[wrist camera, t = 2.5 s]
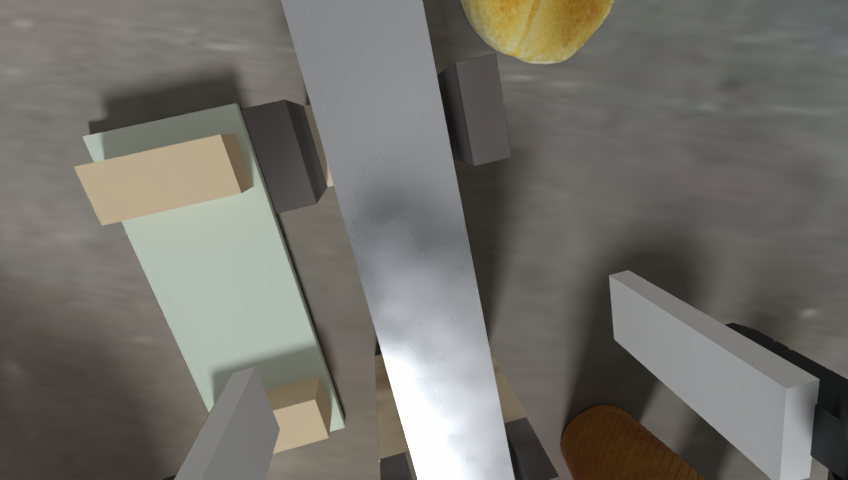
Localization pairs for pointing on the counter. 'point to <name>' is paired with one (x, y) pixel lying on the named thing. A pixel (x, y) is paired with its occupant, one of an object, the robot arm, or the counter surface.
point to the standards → (310, 176)
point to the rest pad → (216, 260)
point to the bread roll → (536, 26)
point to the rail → (405, 224)
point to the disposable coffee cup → (618, 449)
